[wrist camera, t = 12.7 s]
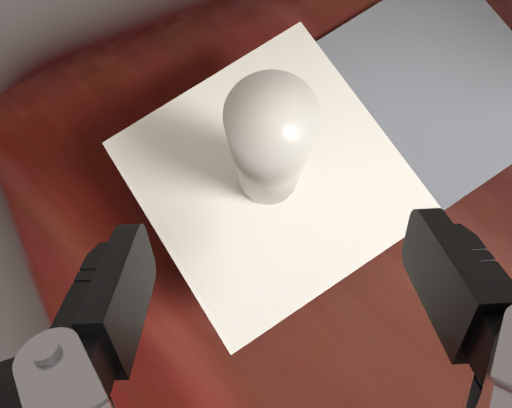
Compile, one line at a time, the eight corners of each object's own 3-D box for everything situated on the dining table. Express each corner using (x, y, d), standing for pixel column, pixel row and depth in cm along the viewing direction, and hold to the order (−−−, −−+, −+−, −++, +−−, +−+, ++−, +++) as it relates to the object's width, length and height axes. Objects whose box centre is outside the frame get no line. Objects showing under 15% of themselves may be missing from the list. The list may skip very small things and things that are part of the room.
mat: (445, -36, 33) (449, -42, 32) (578, 117, 30) (584, 114, 29) (284, 64, 31) (285, 60, 31) (408, 233, 29) (411, 232, 28)
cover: (299, 29, 25) (322, -124, 15) (437, 212, 23) (568, 170, 13) (107, 147, 24) (-2, 63, 14) (232, 351, 22) (206, 421, 12)
